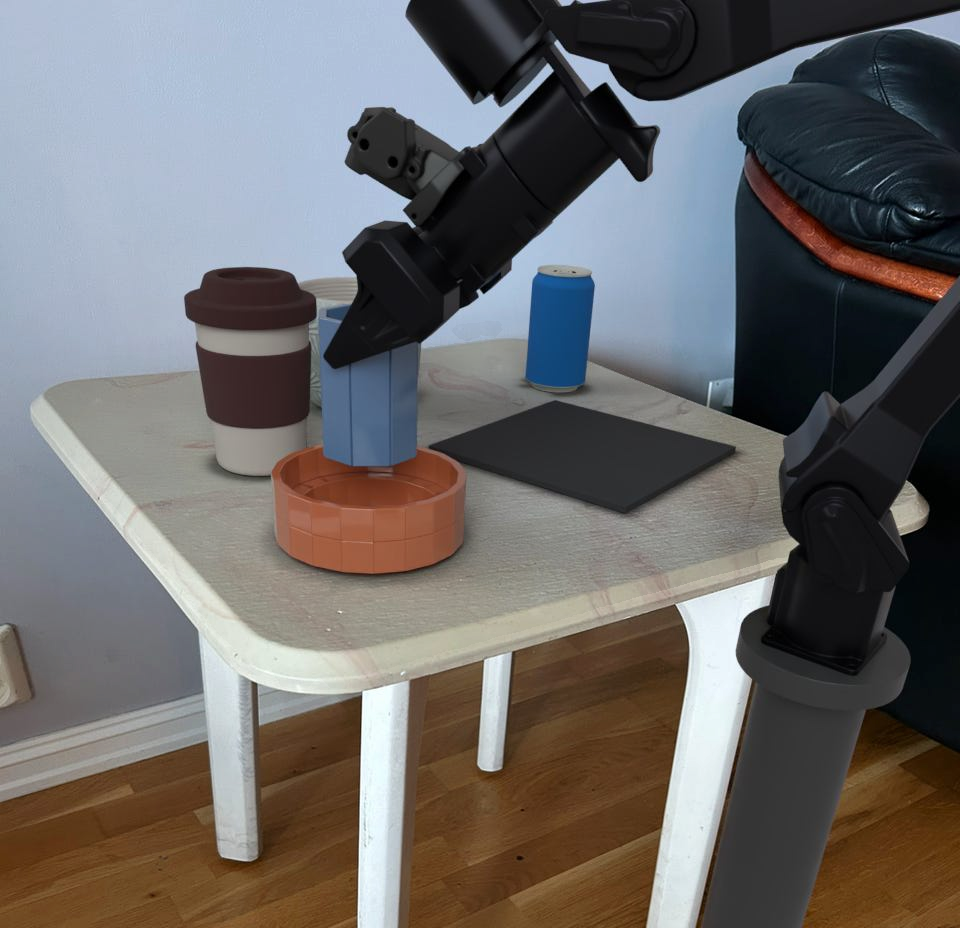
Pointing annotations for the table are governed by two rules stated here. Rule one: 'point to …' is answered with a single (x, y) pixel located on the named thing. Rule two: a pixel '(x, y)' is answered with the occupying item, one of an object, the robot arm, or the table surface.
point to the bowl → (368, 511)
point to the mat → (586, 454)
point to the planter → (326, 296)
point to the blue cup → (368, 402)
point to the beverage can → (559, 327)
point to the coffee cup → (253, 363)
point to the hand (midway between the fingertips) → (348, 349)
